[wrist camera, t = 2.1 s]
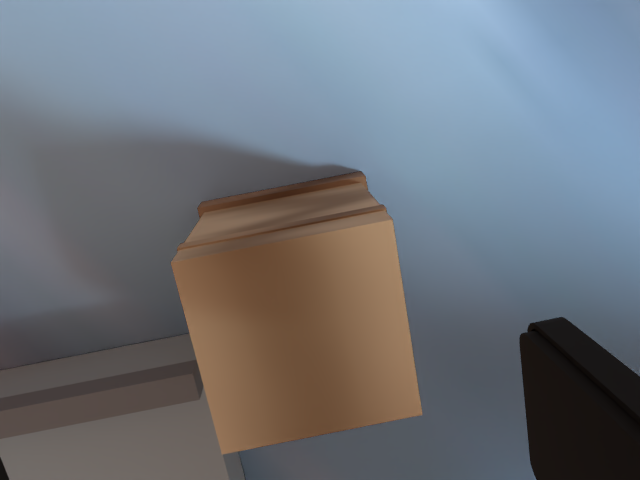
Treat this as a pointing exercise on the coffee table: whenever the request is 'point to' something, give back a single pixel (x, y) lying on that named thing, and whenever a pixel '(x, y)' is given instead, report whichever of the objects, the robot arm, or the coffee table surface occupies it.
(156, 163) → the coffee table surface
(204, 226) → the pedestal
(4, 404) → the dock
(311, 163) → the coffee table surface
